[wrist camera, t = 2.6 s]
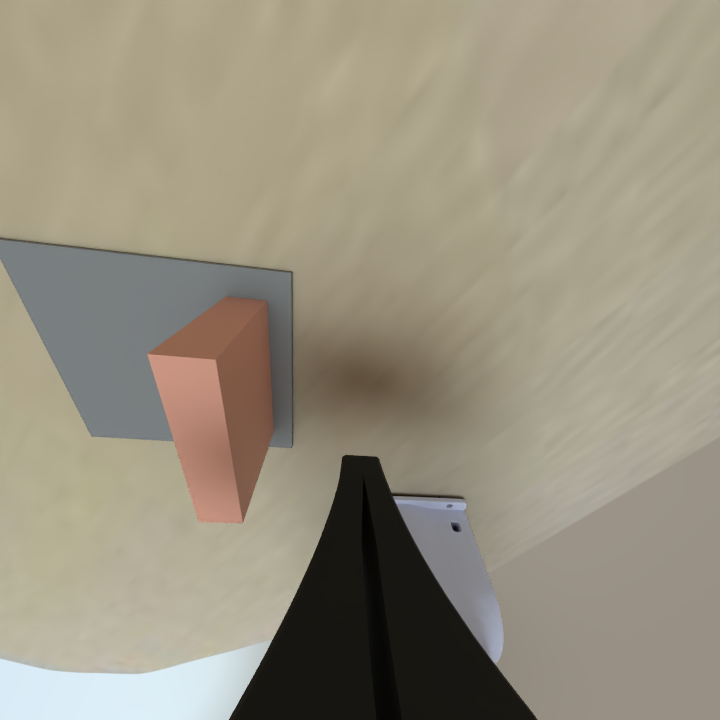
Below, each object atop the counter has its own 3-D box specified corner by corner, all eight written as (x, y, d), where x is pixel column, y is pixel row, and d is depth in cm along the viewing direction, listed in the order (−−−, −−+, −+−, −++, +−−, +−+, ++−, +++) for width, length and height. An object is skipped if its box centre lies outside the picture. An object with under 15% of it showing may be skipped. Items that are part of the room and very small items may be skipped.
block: (267, 300, 14) (215, 359, 8) (273, 431, 18) (242, 523, 13) (225, 296, 13) (147, 354, 8) (243, 429, 18) (198, 521, 13)
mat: (292, 271, 13) (291, 273, 13) (292, 444, 19) (291, 448, 19) (-3, 237, 12) (-10, 238, 12) (95, 433, 18) (91, 436, 18)
